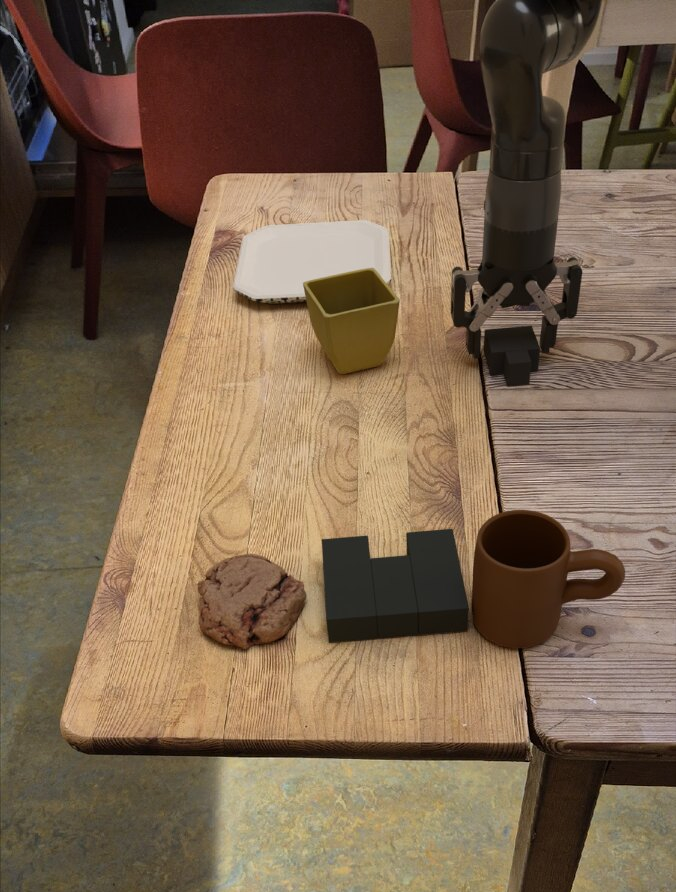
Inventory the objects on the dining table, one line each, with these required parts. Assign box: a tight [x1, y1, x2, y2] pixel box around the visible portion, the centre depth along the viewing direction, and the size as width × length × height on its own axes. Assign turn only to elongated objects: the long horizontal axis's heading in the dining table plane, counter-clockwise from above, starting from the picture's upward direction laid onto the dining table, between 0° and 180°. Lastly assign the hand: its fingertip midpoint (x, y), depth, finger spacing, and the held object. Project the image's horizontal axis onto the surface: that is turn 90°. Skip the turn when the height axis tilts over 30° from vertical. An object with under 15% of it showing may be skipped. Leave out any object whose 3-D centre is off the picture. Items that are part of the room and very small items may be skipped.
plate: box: [232, 219, 392, 305], centre depth 125 cm, size 21×21×2 cm
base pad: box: [321, 528, 470, 644], centre depth 82 cm, size 12×10×3 cm
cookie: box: [197, 553, 307, 650], centre depth 82 cm, size 10×11×3 cm
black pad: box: [482, 325, 541, 387], centre depth 106 cm, size 6×8×3 cm
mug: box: [471, 509, 626, 649], centre depth 76 cm, size 12×8×9 cm, turn 73°
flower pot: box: [303, 268, 401, 375], centre depth 107 cm, size 9×9×9 cm
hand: (509, 352), depth 107 cm, fingers open, 7 cm apart
